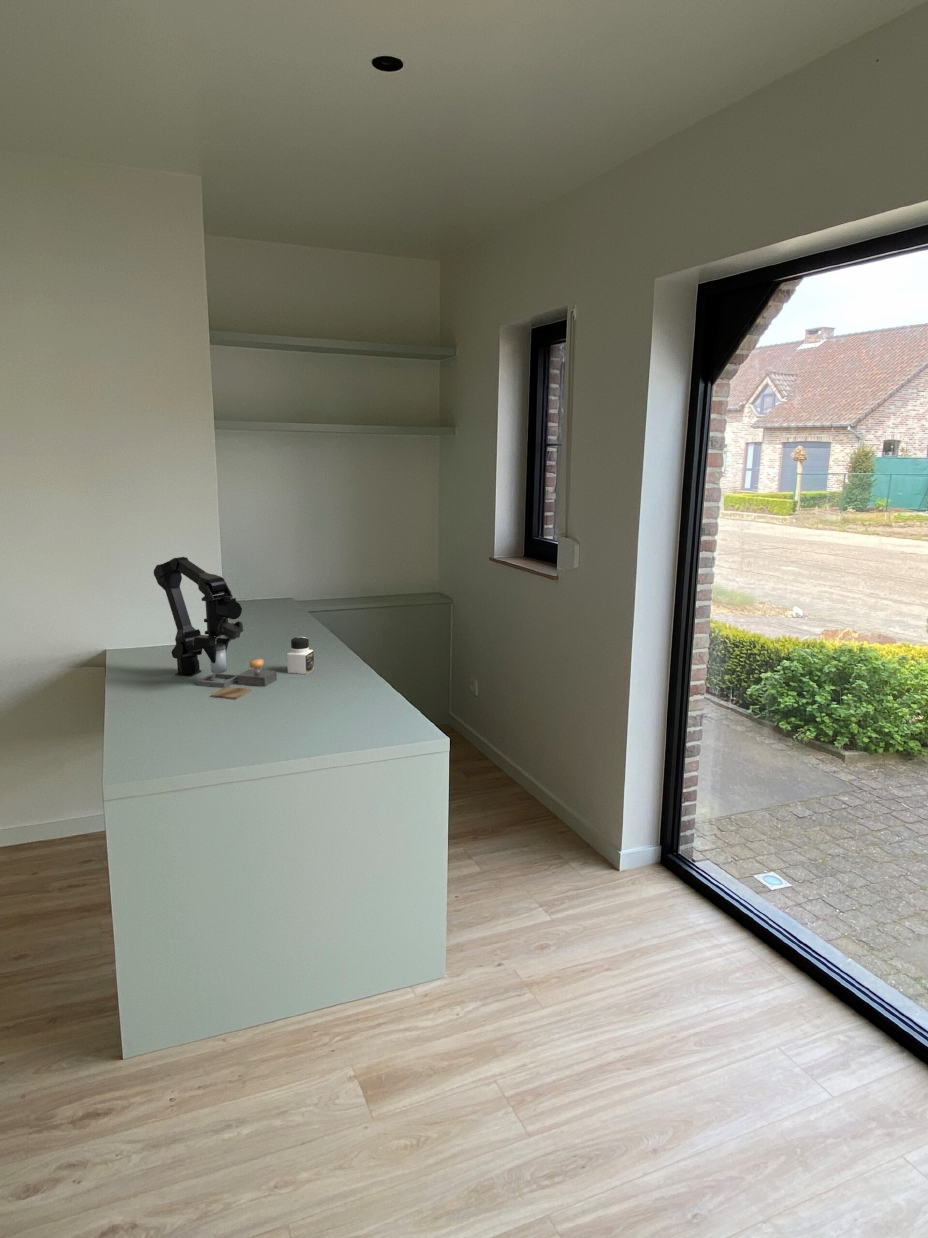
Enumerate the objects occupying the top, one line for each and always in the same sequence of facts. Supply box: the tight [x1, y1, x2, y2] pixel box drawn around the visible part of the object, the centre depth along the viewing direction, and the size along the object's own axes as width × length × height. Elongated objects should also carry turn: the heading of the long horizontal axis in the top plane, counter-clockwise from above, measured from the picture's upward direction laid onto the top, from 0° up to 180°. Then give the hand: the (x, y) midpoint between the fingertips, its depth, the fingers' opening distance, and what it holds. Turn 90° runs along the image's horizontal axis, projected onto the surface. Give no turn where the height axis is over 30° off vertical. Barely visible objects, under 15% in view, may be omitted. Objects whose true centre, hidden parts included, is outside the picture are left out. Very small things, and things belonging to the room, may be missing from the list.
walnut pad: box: [210, 686, 252, 700], centre depth 256 cm, size 9×9×1 cm
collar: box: [197, 672, 239, 689], centre depth 268 cm, size 10×10×2 cm
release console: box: [237, 668, 278, 687], centre depth 268 cm, size 10×8×3 cm
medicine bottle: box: [286, 636, 315, 675], centre depth 280 cm, size 7×7×12 cm
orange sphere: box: [249, 658, 265, 674], centre depth 267 cm, size 4×4×4 cm
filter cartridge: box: [209, 643, 228, 674], centre depth 266 cm, size 5×5×9 cm
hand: (218, 660), depth 266 cm, fingers closed on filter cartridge, 5 cm apart
